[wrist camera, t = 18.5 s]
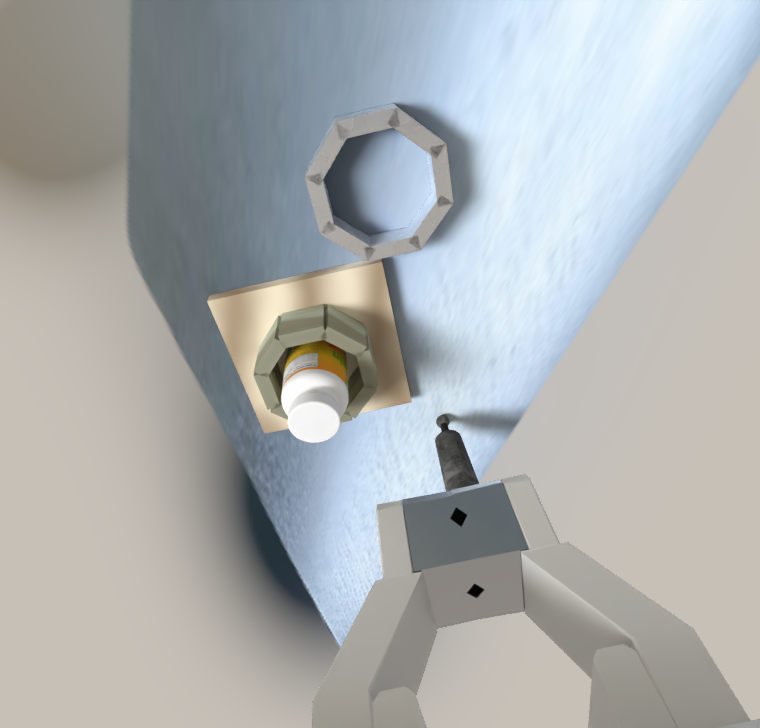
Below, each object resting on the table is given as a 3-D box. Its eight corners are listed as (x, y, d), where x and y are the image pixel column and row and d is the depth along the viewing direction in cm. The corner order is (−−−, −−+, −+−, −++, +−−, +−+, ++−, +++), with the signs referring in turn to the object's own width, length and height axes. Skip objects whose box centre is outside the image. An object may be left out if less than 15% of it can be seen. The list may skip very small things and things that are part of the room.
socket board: (380, 256, 43) (386, 281, 39) (410, 394, 51) (417, 428, 47) (209, 295, 44) (196, 324, 39) (266, 425, 52) (260, 461, 47)
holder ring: (434, 93, 37) (440, 96, 35) (451, 231, 42) (458, 241, 40) (294, 126, 37) (292, 131, 35) (330, 258, 43) (330, 270, 41)
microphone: (468, 442, 55) (529, 618, 39) (406, 443, 55) (441, 622, 38) (478, 391, 52) (551, 561, 35) (412, 391, 51) (453, 565, 34)
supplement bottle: (354, 369, 48) (360, 437, 39) (300, 386, 48) (295, 458, 40) (333, 321, 45) (334, 385, 36) (276, 340, 45) (265, 407, 37)
